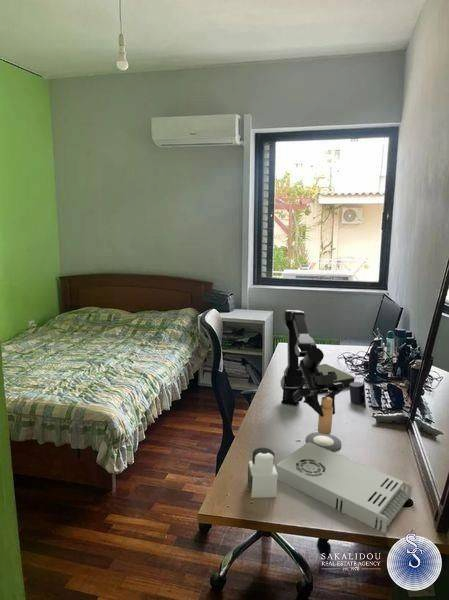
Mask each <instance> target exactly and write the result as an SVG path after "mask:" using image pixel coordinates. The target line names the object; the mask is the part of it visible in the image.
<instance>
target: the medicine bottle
mask: <svg viewBox="0 0 449 600" xmlns="http://www.w3.org/2000/svg"><path fill="white" fill-rule="evenodd" d="M247 468H248V469H247V486H248V490H249V494H250V498H252V499H259V498H260V499H264V498H265V499H267V498H269V499H270V498H277V494H278V493H277V491H278V490H277V489H278V479H277V478H278V474H277V471H276V466H275V452H274V451H273V450H272V449H271V448H268V447H257V448H255V449H254V450H253V452H252V460H249V461H248V467H247Z"/></svg>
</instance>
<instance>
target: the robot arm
mask: <svg viewBox="0 0 449 600" xmlns="http://www.w3.org/2000/svg"><path fill="white" fill-rule="evenodd" d="M305 317H306V316H305V311H302V310H300V309H299V310H298V309H297V310H296V309H295V310H294V309H291V310H290V309H285V310H284V311H283V313H282V314H281V319H282V320H281V321H283V327H285V329H286V331H287V339H286V340H287V366H286V368H285V369H284V370H283V376H282V377H281V379H280V387H281V389H282V390H283V391H282V400H281V404H285V405H290V406H295V407H296V406H297V405H298V404H299V403H300V402H302V401H303V402H302V403H303V404H306V405H308V406H309V407H310V408H312V409H313V410H314V412H316V413H317V415H318V416H319V415H320V416H321V417H323V416H324V415H323V412H322V409H321V406H320V405H321V403H320V401H319V395H323V394H324V397H330V398H332V407H333V415H335V414H336V407H335V406H336V405H335V404H336V403H335V400H336V399H335V398H336V396H337V395H339V394H340V393H341V392H343V391H344V390H345V389H346V387H344V385H343V383H341V382H338V383H334V380H337V375H336V373H335V371H331V372H328V375H323V373H322V372H319V370H318V368H317V367H318V366H319V365H321V363H322V361H323V359H324V357H325V356H324V355H325V354H324V352H323V351H322V350H321V349H320V348H319V347H318V345H317V344H316V342H315V339H314V338H312V336H310V335H309V334H310V333H309V330H308V327H307V323H306V319H305ZM299 358H302V359H301V360H300V359H299ZM300 368H301V369H300ZM303 375H304V377H303ZM304 378H305V379H304ZM306 383H307V384H306ZM328 383H333V384H331V385H330V386H329V387H327V388H326V386H328V385H329V384H328ZM305 384H306V386H307V387H304V385H305ZM333 415H332V416H333Z"/></svg>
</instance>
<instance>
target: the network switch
mask: <svg viewBox="0 0 449 600" xmlns="http://www.w3.org/2000/svg"><path fill="white" fill-rule="evenodd" d="M317 368H318V370H319V372H322V373H323V375H328V372H331V371H335V373H336V375H337V380H334V383H338V382H341V383H343V385H344V387H345V388H350V385H349V384H350V383H352V382H355V381H356V380H355V378H356V377H354V376H353V375H352V374H349V373H347V372H344V371H343V370H340V369H338V368H337V367H334V366H331V365H329V364H328V363H323V364H319V366H318V367H317ZM300 369H301V368H300ZM303 377H304V375H303ZM304 379H305V378H304ZM305 384H306V385H307V383H305ZM328 384H329V385H328V386H326V388H327V387H329V386H330V385H331V384H333V383H328Z"/></svg>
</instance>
